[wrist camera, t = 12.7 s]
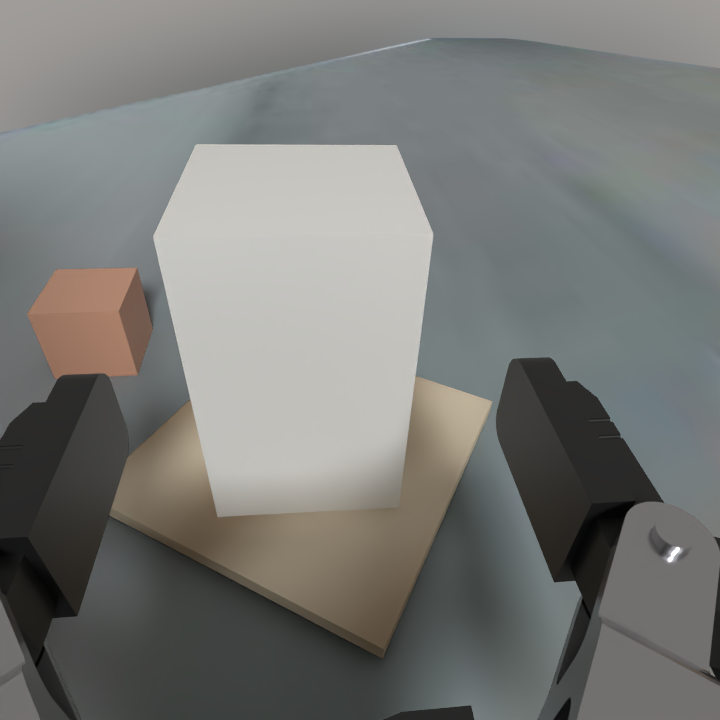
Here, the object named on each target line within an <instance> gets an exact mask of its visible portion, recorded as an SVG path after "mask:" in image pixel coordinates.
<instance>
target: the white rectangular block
mask: <svg viewBox="0 0 720 720" xmlns="http://www.w3.org/2000/svg"><path fill="white" fill-rule="evenodd" d="M153 238H154V243H155V247H156V251H157V256H158V260H159V264H160V269H161V273H162V278H163V282H164V286H165V291H166V295H167V299H168V304H169V308H170V312H171V317H172V321H173V325H174V330H175V334H176V338H177V343H178V347H179V352H180V356H181V360H182V365H183V369H184V373H185V378H186V382H187V386H188V391H189V395H190V399H191V404H192V408H193V412H194V417H195V421H196V426H197V430H198V434H199V439H200V443H201V447H202V452H203V456H204V460H205V465H206V469H207V473H208V478H209V482H210V486H211V491H212V495H213V499H214V504H215V508H216V513H217V517H227V516H246V515H265V514H284V513H304V512H323V511H342V510H361V509H380V508H399V502H400V494H401V486H402V478H403V470H404V462H405V454H406V446H407V438H408V431H409V423H410V415H411V407H412V399H413V391H414V383H415V375H416V367H417V359H418V351H419V344H420V336H421V328H422V320H423V312H424V304H425V296H426V288H427V280H428V272H429V265H430V257H431V249H432V241H433V232H432V230H431V227H430V225H429V222H428V220H427V218H426V215H425V213H424V210H423V208H422V206H421V203H420V201H419V198H418V196H417V193H416V191H415V189H414V186H413V184H412V181H411V179H410V177H409V174H408V172H407V169H406V167H405V165H404V162H403V160H402V157H401V155H400V152H399V150H398V148H397V145H226V144H196V145H195V148H194V150H193V152H192V154H191V156H190V158H189V161H188V163H187V165H186V167H185V169H184V171H183V173H182V176H181V178H180V180H179V182H178V184H177V186H176V189H175V191H174V193H173V195H172V197H171V199H170V201H169V204H168V206H167V208H166V210H165V212H164V214H163V217H162V219H161V221H160V223H159V225H158V227H157V229H156V232H155V234H154V236H153Z"/></svg>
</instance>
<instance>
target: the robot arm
mask: <svg viewBox="0 0 720 720" xmlns="http://www.w3.org/2000/svg"><path fill="white" fill-rule="evenodd" d="M496 429H497V435H498V439H499V442H500V445H501V448H502V450H503V453H504V455H505V458H506V460H507V463H508V465H509V468H510V471H511V473H512V476H513V478H514V481H515V483H516V486H517V488H518V491H519V494H520V496H521V499H522V501H523V504H524V506H525V509H526V511H527V514H528V517H529V519H530V522H531V524H532V527H533V529H534V532H535V534H536V537H537V540H538V542H539V545H540V547H541V550H542V552H543V555H544V557H545V560H546V563H547V565H548V568H549V570H550V573H551V575H552V578H553V580H554V582H564V581H576V583H577V585H578V588H579V590H580V592H581V597H580V598H579V601H578V603H577V606H576V609H575V612H574V615H573V619H572V622H571V625H570V628H569V631H568V634H567V638H566V641H565V644H564V647H563V650H562V653H561V656H560V660H559V663H558V666H557V669H556V672H555V675H554V679H553V682H552V685H551V688H550V691H549V694H548V696H547V699H546V701H545V704H544V706H543V708H542V710H541V713H540V715H539V717H538V720H720V538H717V537H713V535H712V534H711V533H710V531H709V530H708V529H707V528H706V527H705V526H704V525H703V524H702V523H701V522H700V521H699V520H698V519H696V518H695V517H694V516H692V515H691V514H689V513H687V512H686V511H684V510H682V509H680V508H678V507H675V506H672V505H670V504H666V503H664V502H663V500H662V499H661V497H660V496H659V494H658V493H657V491H656V489H655V488H654V486H653V485H652V483H651V482H650V480H649V478H648V477H647V475H646V474H645V472H644V471H643V469H642V467H641V466H640V464H639V463H638V461H637V460H636V458H635V456H634V455H633V453H632V452H631V450H630V448H629V447H628V445H627V444H626V442H625V441H624V439H623V438H620V433H619V431H618V430H617V428H616V426H615V425H614V423H613V422H610V417H609V415H608V414H607V412H606V411H605V409H604V408H603V406H602V404H601V403H600V401H599V400H598V398H597V397H596V396H594V395H593V394H592V393H591V392H589V391H588V390H587V389H586V388H585V387H583V386H582V385H581V384H580V383H578V382H577V381H568V382H566V380H565V378H564V377H563V375H562V373H561V372H560V370H559V368H558V367H557V365H556V363H555V362H554V360H553V359H551V358H548V357H547V358H521V359H513V360H512V361H511V362H510V364H509V367H508V370H507V374H506V378H505V382H504V386H503V390H502V394H501V398H500V402H499V406H498V409H497V415H496ZM128 449H129V438H128V431H127V427H126V424H125V421H124V418H123V416H122V413H121V410H120V407H119V404H118V401H117V398H116V395H115V393H114V390H113V387H112V384H111V381H110V379H109V377H108V376H107V375H106V374H104V373H97V374H71V375H62V376H60V377H59V378H58V380H57V382H56V384H55V385H54V387H53V389H52V391H51V393H50V395H49V397H48V399H47V401H46V402H42V403H32V404H31V405H30V406H29V407H28V408H27V409H26V410H24V411H23V412H22V413H21V414H20V415H19V416H18V417H16V418H15V419H14V420H13V421H12V422H11V423H10V424H9V426H8V428H7V429H6V431H5V433H4V435H3V436H2V438H1V440H0V720H82V719H81V717H80V715H79V713H78V710H77V708H76V706H75V704H74V702H73V699H72V697H71V695H70V693H69V691H68V688H67V686H66V684H65V682H64V680H63V677H62V675H61V673H60V671H59V668H58V666H57V664H56V662H55V660H54V657H53V655H52V653H51V651H50V649H49V646H48V644H47V643H46V641H45V638H46V635H47V632H48V629H49V627H50V624H51V621H52V618H60V617H73V616H77V615H78V612H79V609H80V606H81V603H82V600H83V596H84V593H85V590H86V587H87V584H88V581H89V577H90V574H91V571H92V568H93V565H94V562H95V558H96V555H97V552H98V549H99V546H100V543H101V539H102V536H103V533H104V530H105V527H106V524H107V521H108V517H109V514H110V511H111V508H112V505H113V502H114V498H115V495H116V492H117V489H118V486H119V483H120V479H121V476H122V473H123V470H124V467H125V464H126V460H127V456H128ZM709 666H710V667H711V669H712V671H713V673H714V675H715V677H714V676H712V675H710V671H709ZM384 720H474V717H473V712H472V708H471V706H461V707H450V708H440V709H429V710H418V711H408V712H401V713H398V714H396V715H394V716H391V717H389V718H386V719H384Z"/></svg>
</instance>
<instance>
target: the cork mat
mask: <svg viewBox="0 0 720 720" xmlns="http://www.w3.org/2000/svg"><path fill="white" fill-rule="evenodd" d="M491 404H492V401H489V400H486V399H483V398H480V397H477V396H474V395H471V394H468V393H465V392H462V391H459V390H456V389H453V388H450V387H447V386H444V385H441V384H438V383H435V382H432V381H429V380H426V379H423V378H420V377H417V376H415V383H414V391H413V399H412V407H411V415H410V423H409V431H408V438H407V446H406V454H405V462H404V470H403V478H402V486H401V494H400V502H399V508H380V509H361V510H342V511H323V512H304V513H284V514H265V515H246V516H227V517H217V513H216V508H215V504H214V499H213V495H212V491H211V486H210V482H209V478H208V473H207V469H206V465H205V460H204V456H203V452H202V447H201V443H200V439H199V434H198V430H197V426H196V421H195V417H194V412H193V408H192V404H191V399H190V400H189V401H188V402H187V403H186V404H185V405H184V406H182V407H181V408H180V409H179V410H178V411H177V412H176V413H175V414H174V415H173V416H172V417H171V418H169V419H168V420H167V421H166V422H165V423H164V424H163V425H162V426H161V427H160V428H159V429H158V430H156V431H155V432H154V433H153V434H152V435H151V436H150V437H149V438H148V439H147V440H146V441H144V442H143V443H142V444H141V445H140V446H139V447H138V448H137V449H136V450H135V451H134V452H133V453H131V454H130V455H129V456H128V457H127V460H126V464H125V467H124V470H123V473H122V476H121V479H120V483H119V486H118V489H117V492H116V495H115V498H114V502H113V505H112V508H111V511H110V514H109V515H110V516H111V517H113V518H115V519H117V520H119V521H121V522H123V523H125V524H127V525H129V526H131V527H132V528H134V529H136V530H138V531H140V532H142V533H144V534H146V535H148V536H150V537H151V538H153V539H155V540H157V541H159V542H161V543H163V544H165V545H167V546H169V547H171V548H172V549H174V550H176V551H178V552H180V553H182V554H184V555H186V556H188V557H190V558H191V559H193V560H195V561H197V562H199V563H201V564H203V565H205V566H207V567H209V568H211V569H212V570H214V571H216V572H218V573H220V574H222V575H224V576H226V577H228V578H230V579H232V580H233V581H235V582H237V583H239V584H241V585H243V586H245V587H247V588H249V589H251V590H252V591H254V592H256V593H258V594H260V595H262V596H264V597H266V598H268V599H270V600H272V601H273V602H275V603H277V604H279V605H281V606H283V607H285V608H287V609H289V610H291V611H292V612H294V613H296V614H298V615H300V616H302V617H304V618H306V619H308V620H310V621H312V622H313V623H315V624H317V625H319V626H321V627H323V628H325V629H327V630H329V631H331V632H332V633H334V634H336V635H338V636H340V637H342V638H344V639H346V640H348V641H350V642H352V643H353V644H355V645H357V646H359V647H361V648H363V649H365V650H367V651H369V652H371V653H373V654H374V655H376V656H378V657H380V658H382V659H383V657H384V654H385V652H386V650H387V647H388V645H389V643H390V641H391V638H392V636H393V634H394V631H395V629H396V627H397V624H398V622H399V620H400V617H401V615H402V613H403V611H404V608H405V606H406V604H407V601H408V599H409V597H410V594H411V592H412V590H413V587H414V585H415V583H416V581H417V578H418V576H419V574H420V571H421V569H422V567H423V564H424V562H425V560H426V557H427V555H428V553H429V551H430V548H431V546H432V544H433V541H434V539H435V537H436V534H437V532H438V530H439V527H440V525H441V523H442V521H443V518H444V516H445V514H446V511H447V509H448V507H449V504H450V502H451V500H452V497H453V495H454V493H455V491H456V488H457V486H458V484H459V481H460V479H461V477H462V474H463V472H464V470H465V467H466V465H467V463H468V461H469V458H470V456H471V454H472V451H473V449H474V447H475V444H476V442H477V440H478V437H479V435H480V433H481V431H482V428H483V426H484V424H485V421H486V419H487V417H488V414H489V412H490V408H491Z"/></svg>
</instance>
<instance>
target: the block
mask: <svg viewBox="0 0 720 720" xmlns="http://www.w3.org/2000/svg"><path fill="white" fill-rule="evenodd" d="M27 315H28V317H29V320H30V322H31V324H32V327H33V329H34V331H35V334H36V336H37V338H38V341H39V343H40V345H41V348H42V350H43V352H44V355H45V357H46V359H47V362H48V364H49V366H50V368H51V371H52V373H53V375H54V378H55V379H58V378H59V377H60V376H62V375H71V374H97V373H104V374H106V375H107V376H130V375H138V373H139V370H140V367H141V364H142V361H143V358H144V355H145V352H146V348H147V345H148V342H149V339H150V336H151V333H152V330H153V327H152V323H151V319H150V315H149V312H148V308H147V304H146V300H145V296H144V292H143V288H142V284H141V281H140V277H139V273H138V269H137V268H104V269H56V270H55V272H54V273H53V275H52V276H51V278H50V280H49V281H48V283H47V284H46V286H45V287H44V289H43V290H42V292H41V293H40V295H39V296H38V298H37V299H36V301H35V303H34V304H33V306H32V307H31V309H30V310H29V312H28V313H27Z"/></svg>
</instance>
